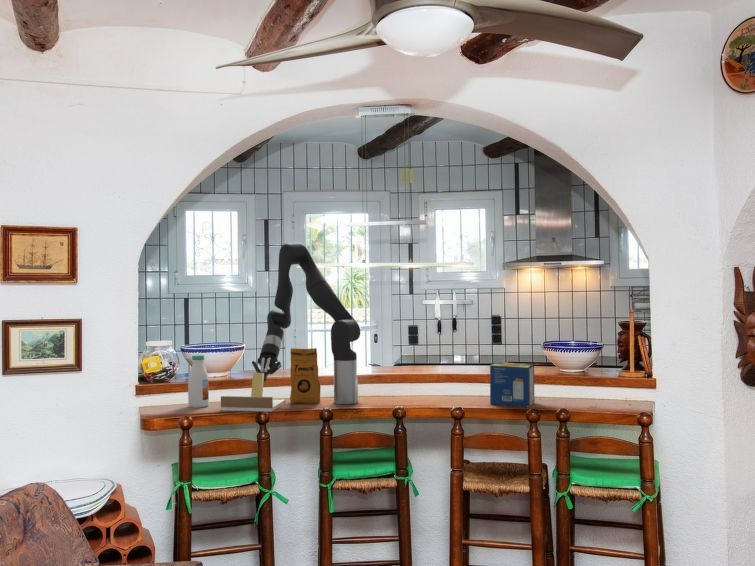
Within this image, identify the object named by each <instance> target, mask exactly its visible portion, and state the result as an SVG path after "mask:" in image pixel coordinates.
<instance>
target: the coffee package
mask: <svg viewBox="0 0 755 566" xmlns="http://www.w3.org/2000/svg"><path fill="white" fill-rule="evenodd" d="M317 351H318V349H317V348H316V347H315V348H290V352H289V353H290V368H289V369H290V372H289V373H290V375H289V376H290V384H291V385H290V388H291V389H290V396H289V402H290V403H292V404H298V405H299V404H303V405H305V404H307V405H309V404H311V405H312V404H319V403H320V402H321V387H322V386H321V383H320V380H319V366H318V365H319V364H318V352H317Z"/></svg>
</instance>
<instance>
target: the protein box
mask: <svg viewBox="0 0 755 566" xmlns="http://www.w3.org/2000/svg"><path fill="white" fill-rule="evenodd" d="M489 381H490V382H489V390H490V392H489V404H490V405H492V404H494V405H495V406H504V405H505V406H504V407H507V406H508V407H517V406H529V407H531V406H532V405H533V404H535V403H536V402H535V364H534V363H516V362H515V363H513V362H498V361H497V362H495V363H492V364H490V365H489ZM530 405H531V406H530Z"/></svg>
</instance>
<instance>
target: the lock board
mask: <svg viewBox="0 0 755 566" xmlns="http://www.w3.org/2000/svg"><path fill="white" fill-rule="evenodd" d="M284 404H286V399H273V396H262V397H251V396H241V395H238V396H235V395H221V396H220V411H230V412H231V411H232V412H233V411H234V412H235V411H237V412H238V411H239V412H273V411H275V410H276V409H278V408H280V407H281V406H283V405H284Z"/></svg>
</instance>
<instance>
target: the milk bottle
mask: <svg viewBox="0 0 755 566" xmlns="http://www.w3.org/2000/svg"><path fill="white" fill-rule="evenodd" d="M191 359H192V360H191V362H192V364H191V368H190V370H189V373H188V376H187V377H188V379H187V380H188V381H187V384H188V385H187V392H188V394H187V395H188V397H187V399H188V401H187V402H188V403H187V404H188V407H189V408H193V409H194V408H195V409H197V408H205V407H208V406H209V401H210V397H209V396H210V395H209V373H208V370H207V368H206V366H205V355H203V354H194V355H192V357H191Z"/></svg>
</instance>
